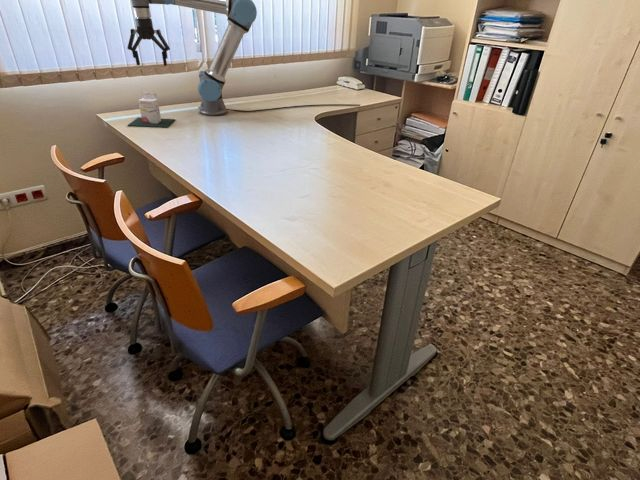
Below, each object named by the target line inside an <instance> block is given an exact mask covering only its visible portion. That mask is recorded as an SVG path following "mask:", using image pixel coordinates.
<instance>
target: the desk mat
mask: <svg viewBox="0 0 640 480" xmlns="http://www.w3.org/2000/svg"><path fill="white" fill-rule="evenodd" d="M175 121H176V119H175V118H161V122H159V123H158V124H154V123H144V122H142V117H137V118H136V119H134V120H133V121H131V122H130V123H129V124H128V125H127V127H139V128H142V127H143V128H159V129H160V128H161V129H162V128H164V129H167V128H169V127H170V126H171V125H172V124H173V123H174V122H175Z"/></svg>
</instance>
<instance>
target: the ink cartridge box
mask: <svg viewBox="0 0 640 480" xmlns="http://www.w3.org/2000/svg"><path fill="white" fill-rule="evenodd" d="M138 106H139V112H140V116H141V117H140V118H142V122H144V123H154V124H158V123H159V122H161V119H162V117H161V112H160V106H159V99H158V95H157V93H156V92H148V91H147V92H145V91H142V92H141V98H140V99H138Z"/></svg>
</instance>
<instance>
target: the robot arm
mask: <svg viewBox="0 0 640 480" xmlns="http://www.w3.org/2000/svg"><path fill="white" fill-rule="evenodd" d="M130 1H131V5H132V12H133V16H134V17H135V19H134V21H135V27H136V29H135V28H131V29H130V36H129V40H128V44H127V46H126V47H127V50H129V51H131V53H132V58H133V59H135V63H136V66H140V65H141V62H140V57H139V53H138V50H137V48H138V46H139V45H140V43H141V41H142V40H151V41H153V42H154V43H155V45H156V46H158V47H159V48H160V50H161V56H162V57H161V58H162V62H163V66H164V67H166V66H168V63H167V59H168V51H170V50H171V48H170V45H169V44H168V43H167V41H166V40H165V38H164V36H163V35H162V31H161V29H154V25H153V19H152V14H151V7H150V5H166V6H168V5H173V6H178V7H183V8H188V9H194V10H201V11H205V12H210V13H216V14H221V15H225V16H226V17H227V18H226V20H227V27H226V29H225V31H224V33H223V35H222V38H221V40H220V43H219V45H218V47H217V49H216V52H215V54H214V57H213V59H212V61H211V63H210V65H209V68H206V69H205V70H200V71H199V72H198V77H199V83H198V86H197V90H198V93H199V95H200V97H201V101H200V106H197V109H199V113H200V114H201V115H202V116H203V115H204V116H213V117H215V116H222V115H225V114H227V111H231V112H243V113H254V112H262V111H272V110H281V109H290V108H302V107H320V106H346V107H347V106H348V107H349V106H350V107H351V106H354V107H356V106H358V107H360V106H361V104H353V103H352V104H349V103H348V104H346V103H345V104H342V103H340V104H339V103H338V104H337V103H335V104H333V103H331V104H330V103H329V104H327V103H326V104H325V103H324V104H304V105H291V106H281V107H273V108H272V107H271V108H261V109H254V110H243V109H242V110H241V109H232V108H227V107H226V104H225V102H224V98H223V88H224V86H225V84H226V82H227V80H226V75H227V72H228V70H229V68H230V65H231V64H232V61H233V60H234V57H235V54H236V52H237V50H238V48H239V46H240V43H241V41H242V40H243V37H244V35H245V34H248V33H249V32H250V29H251V27H252V25H253V24H254V22H255V21H256V19H257V15H258V14H257V13H258V11H257V6H256V5H255V2H254V1H253V0H130ZM136 34H138V37H137V39H136V40H135V36H136ZM155 34H156V35H157V37H158V38H159V40H158V38H157V37H156V36H155ZM134 41H135V42H134Z"/></svg>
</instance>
